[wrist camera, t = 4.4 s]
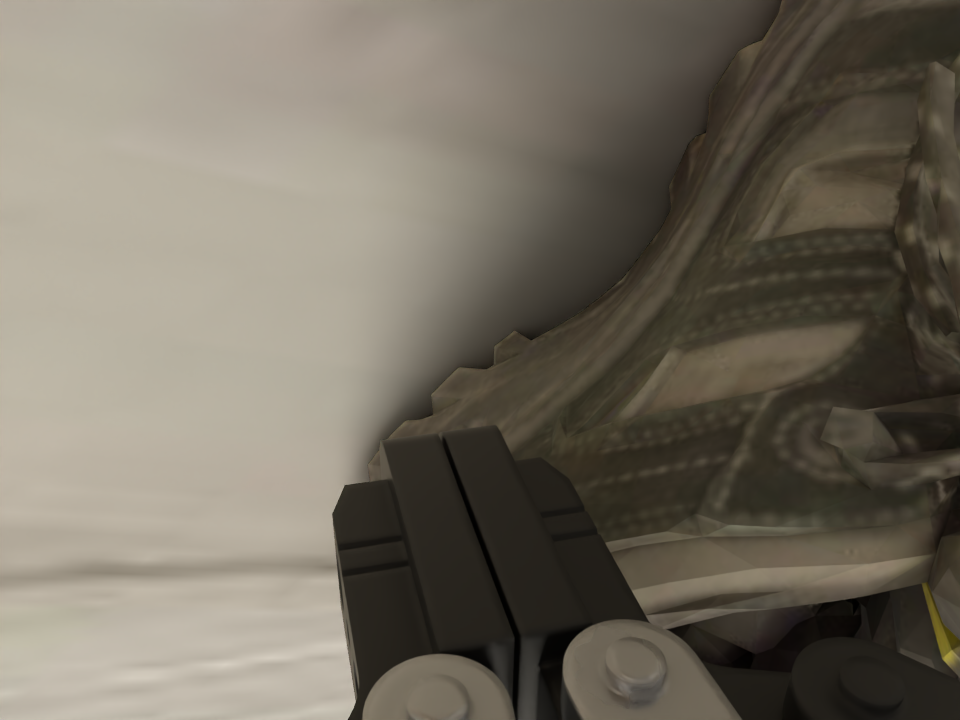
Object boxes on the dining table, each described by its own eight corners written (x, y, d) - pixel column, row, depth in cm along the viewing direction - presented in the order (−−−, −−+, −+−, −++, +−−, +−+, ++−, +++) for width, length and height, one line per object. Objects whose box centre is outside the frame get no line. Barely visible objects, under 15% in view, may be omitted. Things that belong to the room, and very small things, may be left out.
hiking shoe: (1378, 84, 17) (2880, -53, 5) (587, 686, 23) (509, 1208, 12) (1046, -267, 17) (1875, -1183, 5) (341, 437, 23) (18, 720, 12)
